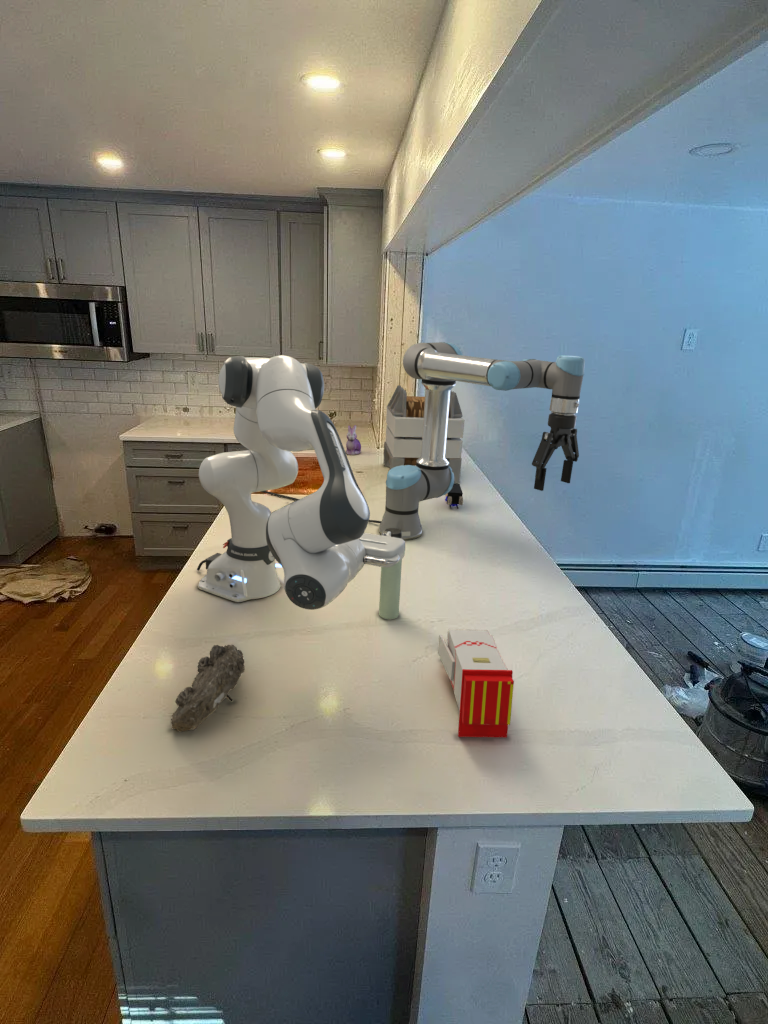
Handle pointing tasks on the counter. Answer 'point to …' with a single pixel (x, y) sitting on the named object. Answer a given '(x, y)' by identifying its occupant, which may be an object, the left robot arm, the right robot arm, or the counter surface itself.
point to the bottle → (390, 591)
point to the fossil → (208, 687)
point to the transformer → (419, 431)
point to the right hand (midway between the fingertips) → (552, 485)
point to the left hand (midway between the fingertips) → (366, 531)
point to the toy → (478, 682)
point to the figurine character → (454, 496)
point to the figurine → (352, 442)
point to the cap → (395, 532)
